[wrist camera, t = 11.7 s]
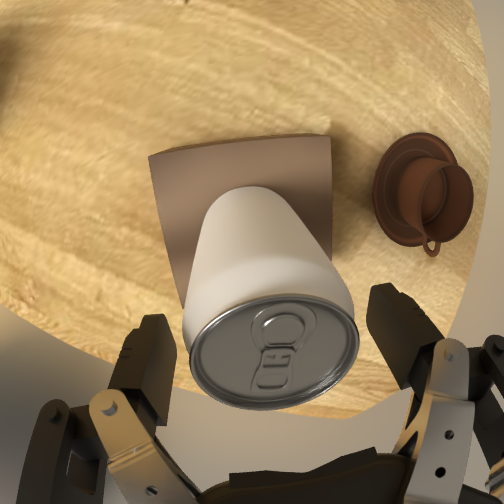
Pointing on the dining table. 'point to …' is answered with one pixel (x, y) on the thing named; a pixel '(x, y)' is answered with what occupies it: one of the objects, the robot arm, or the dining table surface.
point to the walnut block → (236, 176)
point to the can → (265, 307)
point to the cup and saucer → (421, 192)
